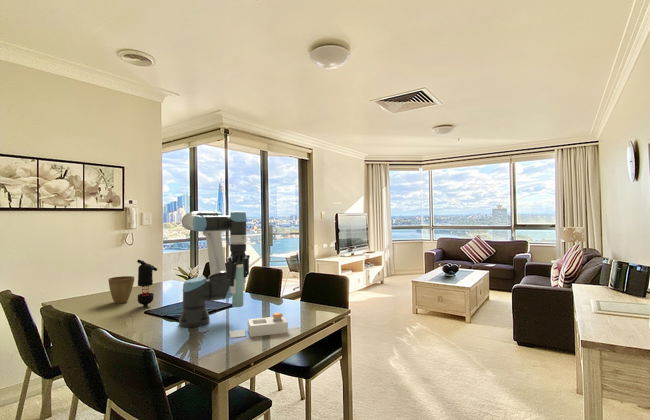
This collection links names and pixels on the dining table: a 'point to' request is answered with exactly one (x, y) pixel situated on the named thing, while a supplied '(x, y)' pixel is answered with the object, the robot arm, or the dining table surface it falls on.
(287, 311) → the dining table surface
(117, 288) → the plant pot
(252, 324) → the base
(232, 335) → the mat
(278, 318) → the plunger
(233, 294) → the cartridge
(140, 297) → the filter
